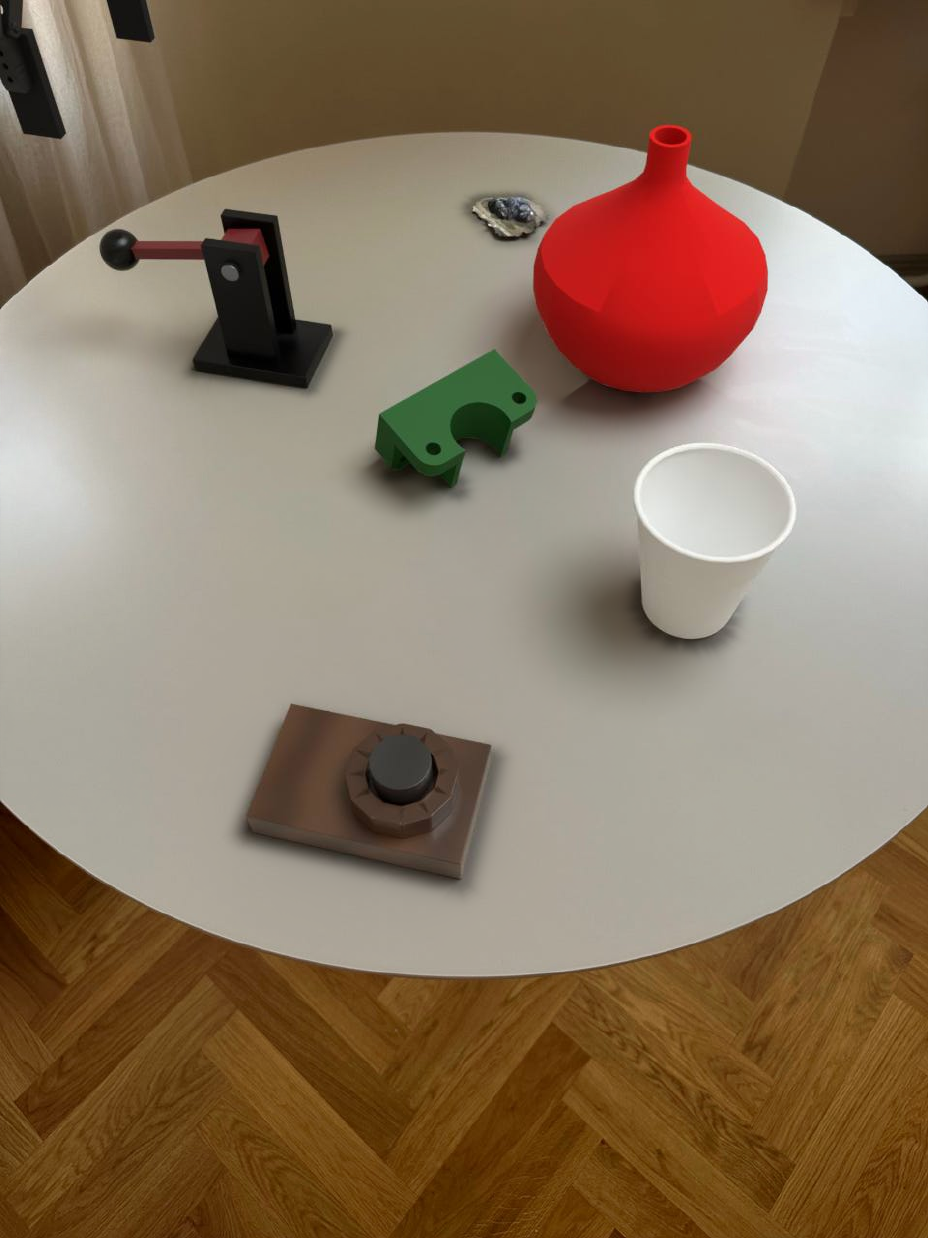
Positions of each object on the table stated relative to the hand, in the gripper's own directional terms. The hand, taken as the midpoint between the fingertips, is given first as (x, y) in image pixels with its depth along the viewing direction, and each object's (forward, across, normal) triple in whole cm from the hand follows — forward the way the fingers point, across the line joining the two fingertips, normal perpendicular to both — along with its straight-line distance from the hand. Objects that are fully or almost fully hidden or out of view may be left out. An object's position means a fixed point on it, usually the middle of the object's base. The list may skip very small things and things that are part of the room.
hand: (93, 83), depth 72 cm
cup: (+22, -17, -47) cm, 55 cm away
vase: (+22, +8, -39) cm, 46 cm away
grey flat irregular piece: (+22, +25, -24) cm, 41 cm away
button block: (+22, -37, -30) cm, 53 cm away
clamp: (+22, -7, -28) cm, 36 cm away
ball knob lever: (+15, +1, -3) cm, 15 cm away
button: (+19, -37, -32) cm, 52 cm away
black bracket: (+22, +1, -9) cm, 24 cm away
